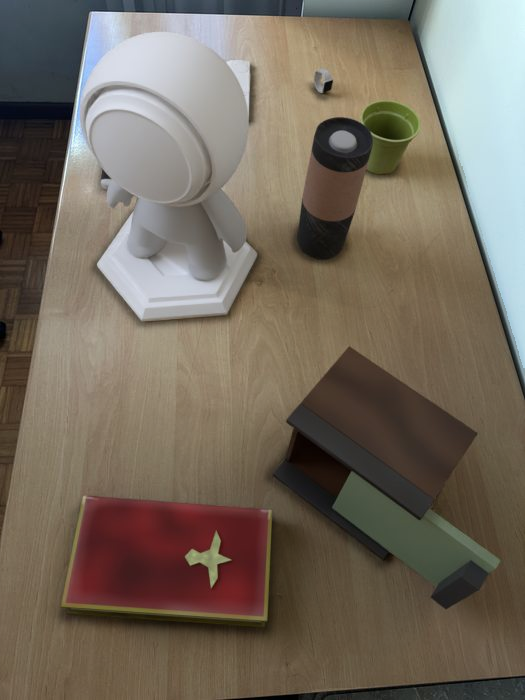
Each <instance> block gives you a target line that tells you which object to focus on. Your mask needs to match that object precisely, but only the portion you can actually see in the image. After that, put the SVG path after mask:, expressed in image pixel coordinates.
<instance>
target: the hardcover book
mask: <svg viewBox="0 0 525 700" xmlns="http://www.w3.org/2000/svg"><path fill="white" fill-rule="evenodd" d="M272 521H273V509H271V508H270V509H268V508H257V507H256V508H254V507H242V506H232V505H231V506H228V505H217V504H203V503H189V502H175V501H166V500H165V501H164V500H152V499H151V500H150V499H138V498H137V499H136V498H125V497H124V498H123V497H112V496H111V497H110V496H96V495H87V494H86V495H83V496H82V498H81V503H80V509H79V513H78V519H77V522H76V523H77V524H76V528H75V534H74V539H73V543H72V548H71V553H70V559H69V563H68V568H67V574H66V579H65V583H64V588H63V594H62V599H61V604H60V608H65V609H67V610H66V613H67V614H68V615H69V614H70V615H84V616H98V617H110V618H111V617H112V618H125V619H127V618H128V619H140V620H141V619H142V620H154V621H155V620H157V621H168V622H169V621H170V622H184V623H185V622H186V623H198V624H199V623H200V624H211V625H213V624H214V625H229V626H242V627H255V628H265V624H266V622H268V614H269V613H268V612H269V590H270V589H269V588H270V570H271V569H270V567H271V566H270V565H271V546H272V545H271V544H272V524H273V523H272ZM67 614H66V615H67Z"/></svg>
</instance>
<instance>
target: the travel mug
mask: <svg viewBox="0 0 525 700" xmlns="http://www.w3.org/2000/svg"><path fill="white" fill-rule="evenodd" d="M372 146H373V137H372V134H371V132H370V131H369V129H368V128H367V127H366V126H365V125H363V124H362V123H361V121H358V120H356V119H353V118H350V117H344V116H335V117H331V118H327V119H325V120H322V121H321V122H320V123H319V124H318V125H317V126H316V128H315V131H314V136H313V140H312V145H311V150H310V156H309V160H308V167H307V171H306V176H305V181H304V187H303V192H302V198H301V205H300V213H299V220H298V227H297V235H296V241H297V245H298V248H299V249H300V250H301V252H302V253H304V254H305V255H306V256H307V257H310V258H312V259H315V260H330V259H333V258H335V257H336V256H338V255H339V254H340V253H341V252H342V251H343V248H344V246H345V243H346V239H347V238H348V234H349V230H350V228H351V225H352V222H353V218H354V215H355V212H356V209H357V206H358V203H359V199H360V194H361V191H362V188H363V183H364V179H365V176H366V172H367V169H366V168H367V165H368V161H369V157H370V153H371V150H372Z"/></svg>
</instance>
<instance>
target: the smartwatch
mask: <svg viewBox="0 0 525 700" xmlns="http://www.w3.org/2000/svg"><path fill="white" fill-rule="evenodd" d="M322 78H323V82H321V81H322ZM313 84H314V87H315V89H316V90H317V92H318V93H320V94H324V93H328V92H330V91H331V90H332V88H333V84H334V79H333V77H332V75H331V74H330V71H328V69H326V68H319V69H316V71H315V72H314V74H313Z"/></svg>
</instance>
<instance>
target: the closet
mask: <svg viewBox="0 0 525 700" xmlns="http://www.w3.org/2000/svg"><path fill="white" fill-rule="evenodd" d="M285 423H286V424H287V425H289V426H290V427H291V428H293V429H292V431H291V436H290V439H289V443H288V446H287V449H286V452H285V453H286V454H285V457H284V459H283V460H282V462H281V463H280V464H279V465H278V466H277V468H276V469H275V470H274V472H273V473H272V477H273V478H275V479H276V480H277V481H279V482H280V483H281V484H282V485H284V486H285V487H286V488H287V489H289V490H290V491H292V492H293V493H294V494H295V495H297V496H298V497H300V498H301V499H302V500H303V501H305V503H307V504H309V505H310V506H311V507H312V508H314V509H315V510H317V511H318V512H319V513H320V514H321V515H323V516H324V517H326V518H327V519H328V520H329V521H331V522H332V523H333V524H335V525H336V526H337V527H339V528H340V529H341V530H342V531H344V532H345V533H346V534H348V535H349V536H350V537H352V538H353V539H354V540H355V541H356V542H358V543H359V544H361V545H362V546H363V547H365V548H366V549H367V550H368V551H370V552H371V553H372V554H373V555H375V556H376V557H377V558H379V559H380V560H382V561H383V560H384V559H385V558H386V557H387V555H388V554H389V553H390V552H389V551H388V550H387V549H385V548H384V547H383V546H381V545H380V544H379V543H378V542H376V541H375V540H374V539H372V538H371V537H370V536H368V535H367V534H366V533H364V532H363V531H362V530H360V529H359V528H358V527H357V526H355V525H354V524H353V523H351V522H350V521H349V520H347V519H346V518H345V517H343V516H342V515H341V514H339V513H338V512H337V511H336V510H334V509H333V508H332V507H333V505H334V503H335V501H336V499H337V498H338V496H339V494H340V492H341V490H342V488H343V486H344V484H345V483H346V481H347V479H348V477H349V475H350V473H351V471H353V472H354V473H355V474H357V475H358V476H359V477H361V478H362V479H364V480H365V481H366V482H368V483H369V484H370V485H372V486H373V487H374V488H376V489H377V490H378V491H380V492H381V493H383V494H384V495H385V496H387V497H388V498H389V499H391V500H392V501H393V502H395V503H396V504H397V505H399V506H400V507H402V508H403V509H404V510H406V511H407V512H408V513H410V514H411V515H412V516H414V517H415V518H417V519H418V520H419V521H420V520H421V519H422V518H423V516H424V515H425V513H426V512H427V510H428V509H430V507H431V506H432V504H433V502H434V501H435V500H436V498H437V496H438V495H439V494H440V492H441V490H442V489H443V488H444V486H445V485H446V483H447V482H448V480H449V478H451V476H452V474H453V472H454V471H455V469H456V468H457V466H458V465H459V463H460V462H461V461H462V459H463V458H464V456H465V454H466V453H467V451H468V450H469V448H470V447H471V445H472V444H473V442H474V440H476V438H477V436H478V434H479V432H477V431H475V430H474V429H473V428H471V427H470V426H469V425H467V424H465V423H464V422H462V421H461V420H460V419H458V418H456V417H455V416H454V415H452V414H450V413H449V412H447V411H446V410H445V409H443V408H442V407H440V406H439V405H437V404H436V403H434V402H433V401H432V400H430V399H428V398H427V397H426V396H424V395H422V394H421V393H419V392H418V391H417V390H416V389H414V388H413V387H411V386H409V385H408V384H406V383H405V382H404V381H401V380H400V379H399V378H397V377H396V376H394V375H393V374H391V373H390V372H388V371H387V370H385V368H383V367H382V366H379V365H378V364H377V363H375V362H374V361H372V360H370V359H369V358H368V357H366V356H365V355H363V354H362V353H360V352H359V351H357V350H356V349H355V348H353V347H351V345H348V347H347V348H346V349H345V350H344V351H343V352H342V354H341V355H340V356H339V357H338V358H337V359H336V361H334V363H333V364H332V366H331V367H330V368H329V369H328V370H327V372H326V373H324V375H323V376H322V377H321V378H320V380H319V381H317V383H316V384H315V385H314V387H312V388H311V390H310V391H309V392H308V393H307V394H306V396H305V397H304V398H303V399H302V400H301V402H300V403H299V404H298V405H297V406H296V408H294V410H293V411H292V412H291V414H290V415H289V416H288V417H287V418H286V421H285Z"/></svg>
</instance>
